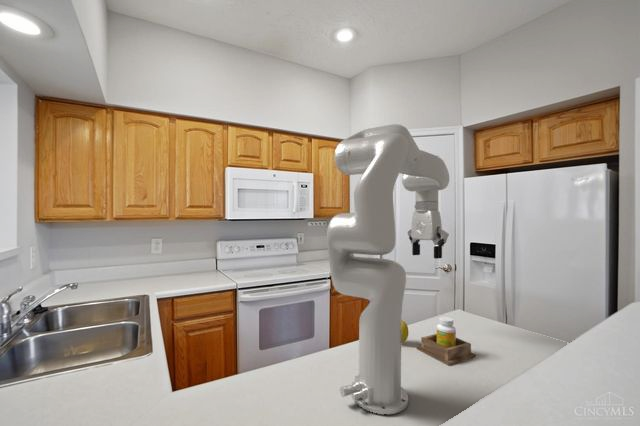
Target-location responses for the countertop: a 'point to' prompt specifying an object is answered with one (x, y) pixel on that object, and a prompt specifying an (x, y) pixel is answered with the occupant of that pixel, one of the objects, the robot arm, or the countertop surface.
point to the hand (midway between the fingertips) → (426, 256)
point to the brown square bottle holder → (446, 350)
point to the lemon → (404, 331)
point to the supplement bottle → (446, 332)
